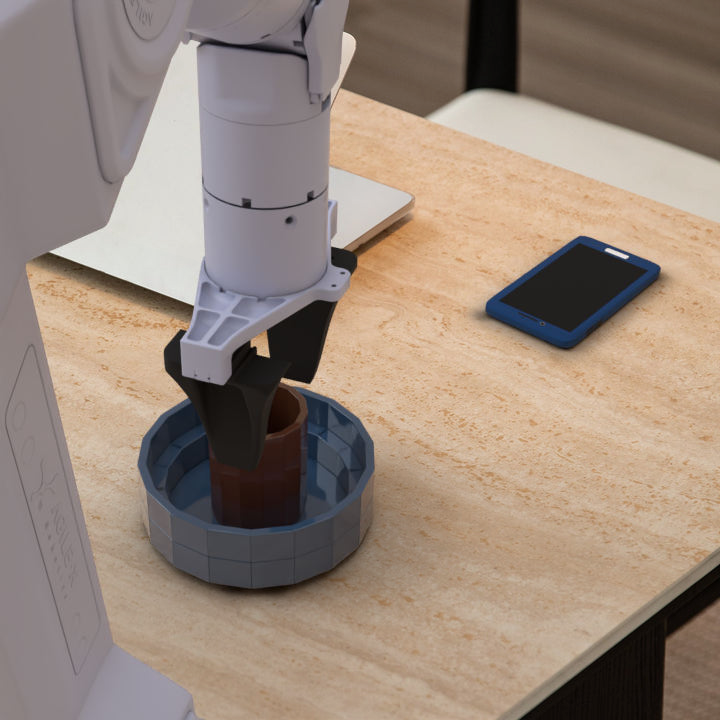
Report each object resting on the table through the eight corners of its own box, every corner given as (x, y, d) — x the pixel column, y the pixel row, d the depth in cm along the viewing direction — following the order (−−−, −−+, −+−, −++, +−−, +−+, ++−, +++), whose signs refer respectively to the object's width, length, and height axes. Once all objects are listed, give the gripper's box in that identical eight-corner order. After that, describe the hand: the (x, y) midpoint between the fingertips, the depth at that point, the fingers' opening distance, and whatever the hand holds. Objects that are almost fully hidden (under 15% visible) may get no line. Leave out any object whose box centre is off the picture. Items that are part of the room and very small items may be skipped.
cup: (274, 550, 68) (273, 452, 64) (191, 514, 70) (186, 417, 66) (324, 494, 72) (326, 398, 68) (244, 462, 74) (242, 367, 70)
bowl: (296, 631, 64) (297, 569, 62) (95, 538, 69) (88, 477, 67) (411, 488, 74) (416, 429, 71) (226, 416, 79) (225, 358, 76)
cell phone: (663, 274, 94) (665, 265, 94) (567, 352, 86) (568, 343, 85) (580, 240, 98) (581, 232, 98) (479, 312, 89) (480, 304, 89)
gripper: (288, 275, 49) (287, 528, 57) (398, 131, 61) (385, 358, 68) (128, 241, 51) (149, 490, 59) (264, 107, 62) (266, 331, 70)
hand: (267, 418), depth 64 cm, fingers open, 7 cm apart
